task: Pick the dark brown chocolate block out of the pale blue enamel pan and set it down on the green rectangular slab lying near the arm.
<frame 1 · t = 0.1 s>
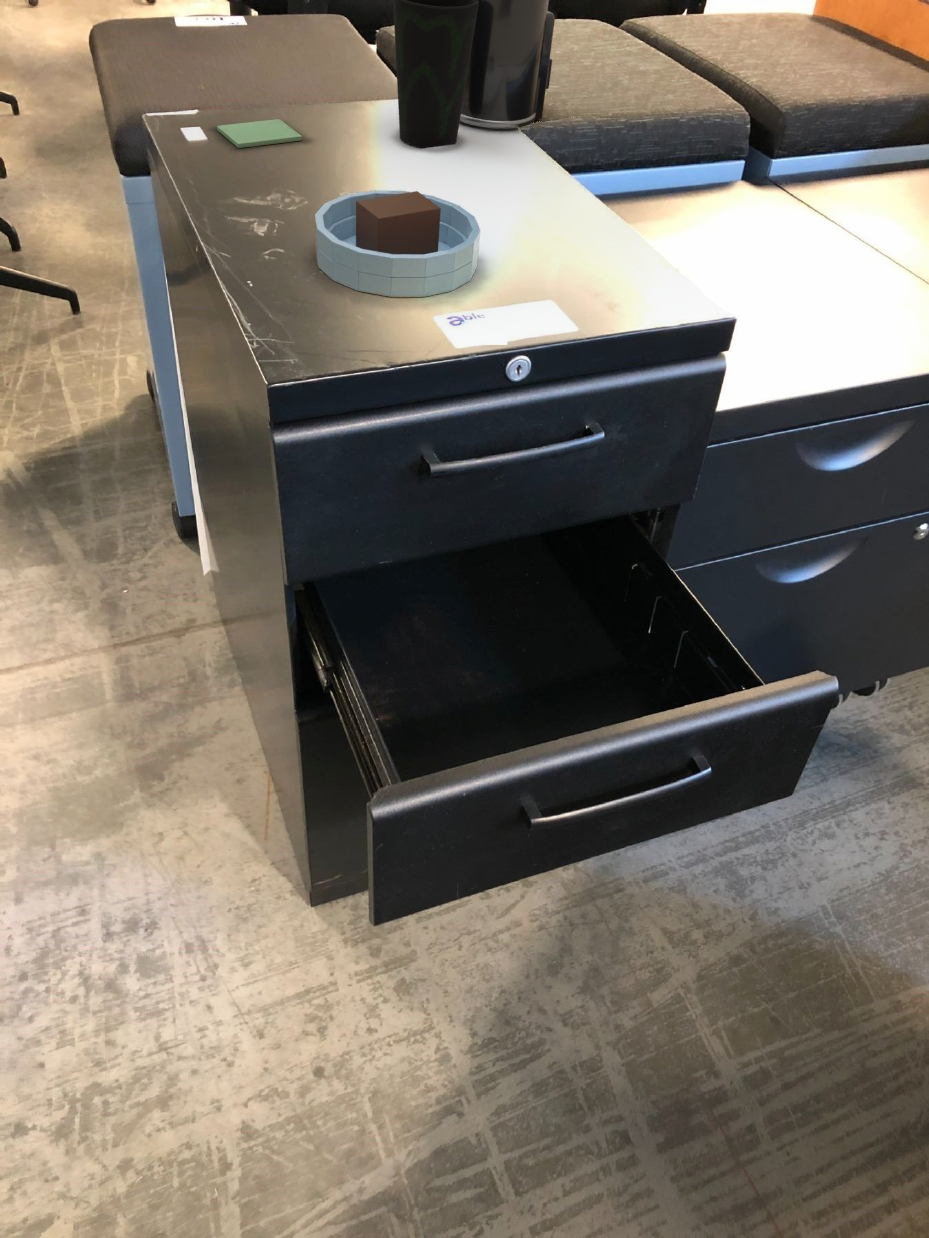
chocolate: (396, 260, 73), point 1 cm above the table, touching pan
pan: (396, 268, 74), on the table
green rectangular slab: (259, 135, 91), on the table
cup: (428, 141, 95), on the table
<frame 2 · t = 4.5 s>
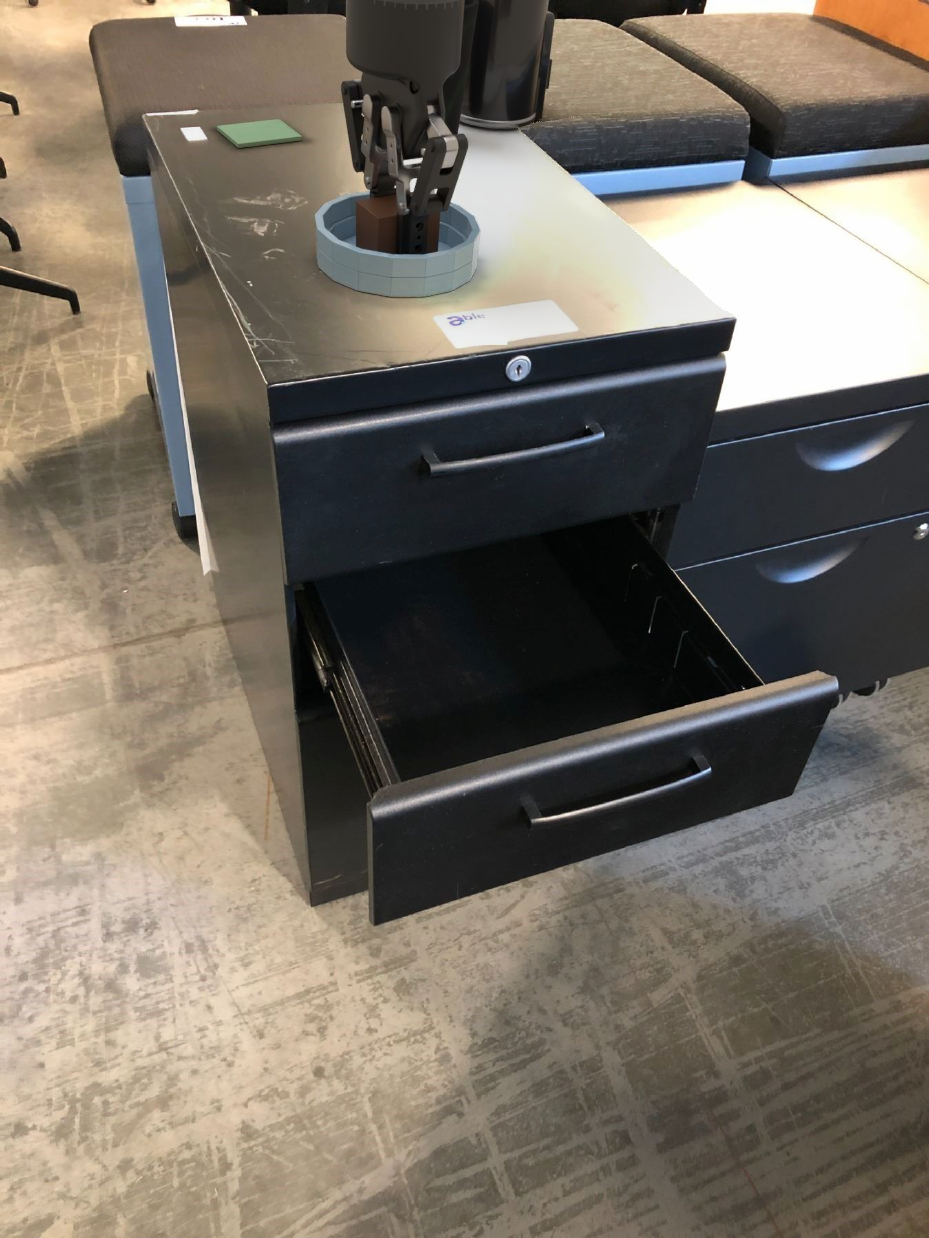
hand: (396, 250, 73), 1 cm above the table, tool pointing down, fingers closed on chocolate, 3 cm apart
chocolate: (396, 260, 73), point 1 cm above the table, touching gripper, pan
everything else where it was.
when the fingers open (1 cm above the table, at t = 12.4 s): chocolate stays where it is, resting on green rectangular slab.
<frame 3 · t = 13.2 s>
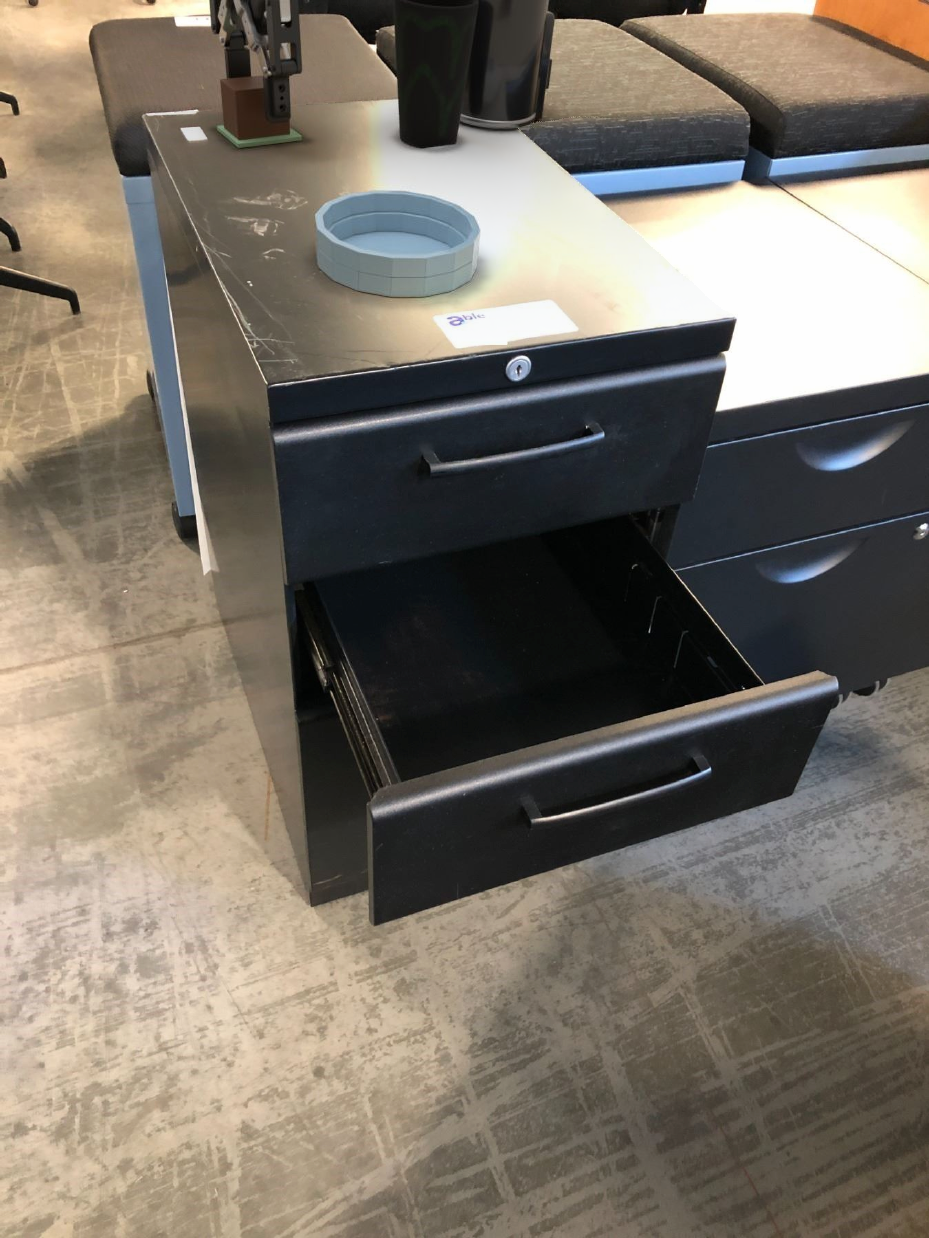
hand: (258, 107, 90), 2 cm above the table, tool pointing down, fingers open, 8 cm apart
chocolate: (257, 131, 91), resting on green rectangular slab
everything else where it was.
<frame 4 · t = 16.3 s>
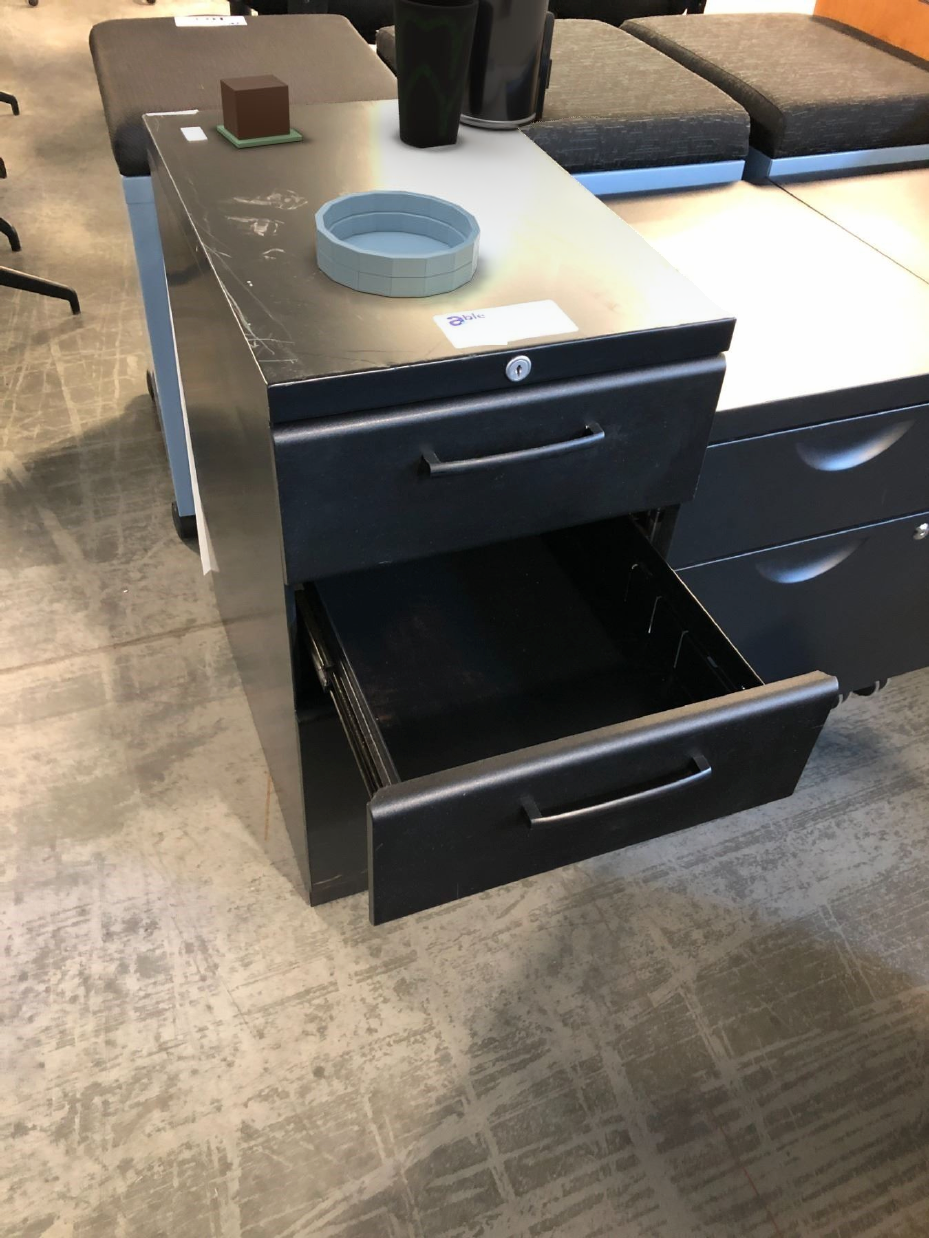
nothing on the table moved.
at the end: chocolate inside the target area on the green rectangular slab (0.2 cm from its centre), point 0.4 cm above the green rectangular slab's base; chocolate tilted 0°; the gripper is holding nothing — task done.
